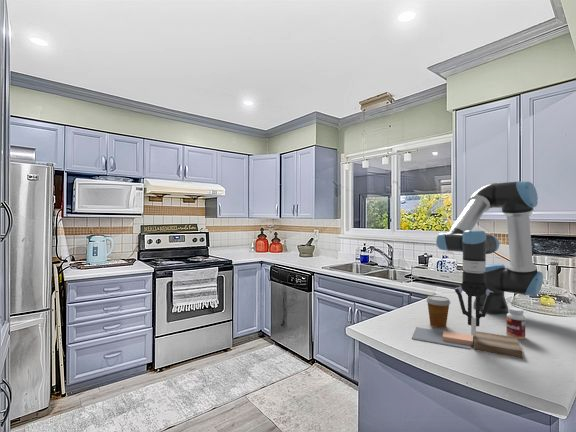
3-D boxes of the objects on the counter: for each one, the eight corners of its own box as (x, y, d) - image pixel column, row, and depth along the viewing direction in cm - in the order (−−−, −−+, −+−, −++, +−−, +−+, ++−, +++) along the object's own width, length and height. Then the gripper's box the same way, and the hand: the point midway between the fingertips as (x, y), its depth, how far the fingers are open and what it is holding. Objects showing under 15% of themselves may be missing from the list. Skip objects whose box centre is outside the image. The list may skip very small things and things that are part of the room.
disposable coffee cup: (422, 325, 140) (423, 298, 140) (430, 320, 147) (430, 294, 147) (446, 331, 134) (446, 302, 134) (453, 325, 141) (453, 298, 141)
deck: (473, 337, 127) (473, 330, 127) (516, 344, 120) (516, 337, 120) (474, 350, 115) (474, 343, 115) (522, 358, 108) (522, 351, 108)
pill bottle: (503, 335, 129) (503, 307, 129) (511, 332, 132) (511, 305, 132) (520, 340, 124) (520, 312, 124) (528, 337, 127) (528, 309, 127)
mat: (416, 328, 137) (416, 327, 137) (470, 336, 128) (470, 335, 128) (411, 339, 125) (411, 338, 125) (470, 349, 115) (470, 348, 115)
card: (443, 334, 129) (443, 330, 129) (472, 339, 124) (472, 335, 124) (442, 340, 123) (442, 336, 123) (472, 345, 118) (472, 341, 118)
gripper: (454, 271, 121) (453, 334, 121) (495, 274, 114) (495, 340, 115) (454, 268, 127) (454, 328, 127) (493, 271, 121) (493, 334, 121)
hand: (473, 334), depth 121 cm, fingers closed
